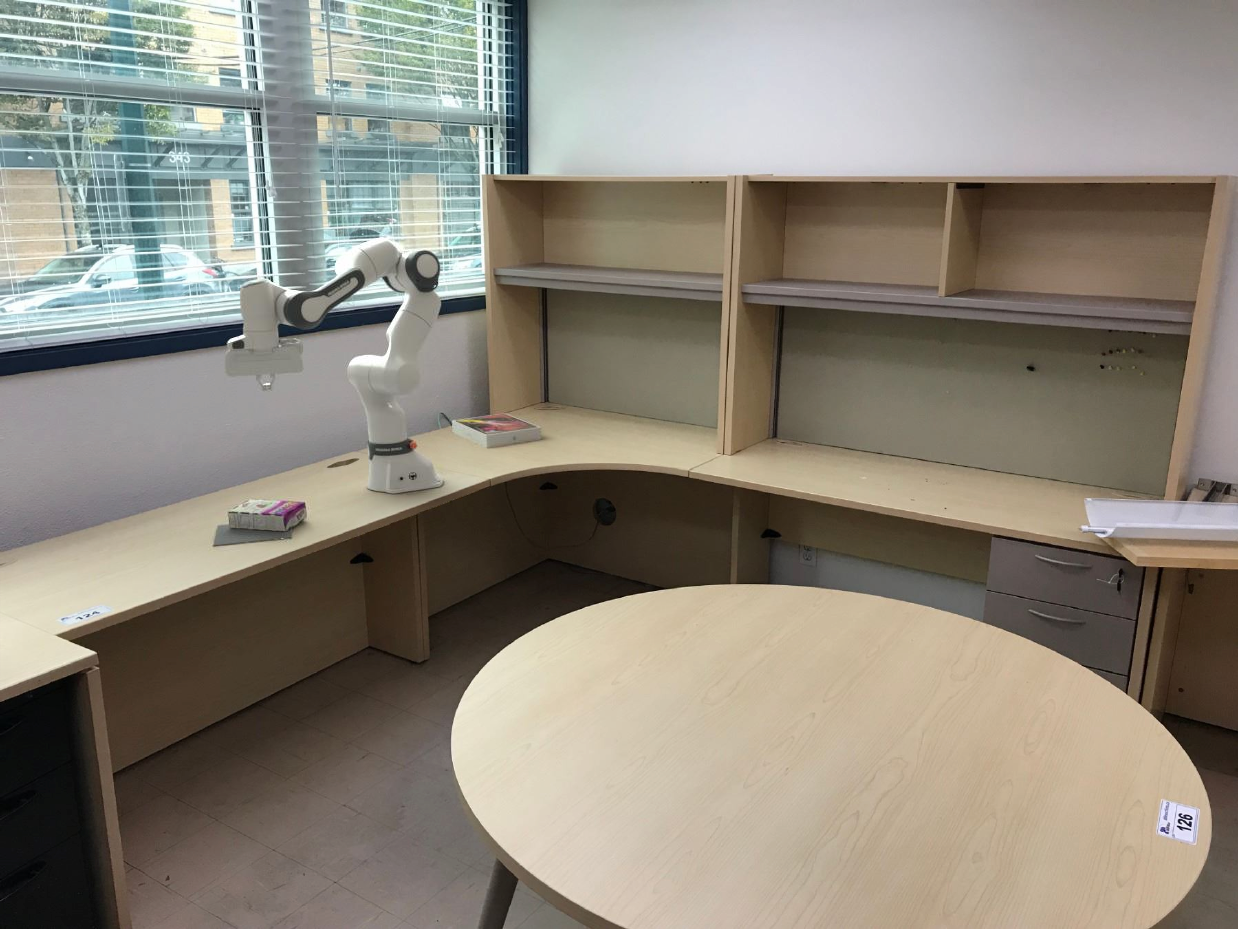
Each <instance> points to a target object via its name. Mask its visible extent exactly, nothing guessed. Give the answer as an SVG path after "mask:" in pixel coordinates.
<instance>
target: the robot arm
mask: <svg viewBox="0 0 1238 929" xmlns="http://www.w3.org/2000/svg"><path fill="white" fill-rule="evenodd" d="M334 270H335V275H336V277H334V278H333V279H331V280H330V281H328V282H327V283H324V284H323V285H322V286H320V287H319V288H317V289H316V290H311V291H310V290H309V291H304V290H302V291H301V290H293V289H289V288H286V287H283V286H280V285H278V284H276V283H274V282H272V281H271V280H270V279H268V278H258V279H257V278H256V279H251V280H248V281H246V282H244V283H242V285H241V287H240V290H239V291H240V292H239V305H240V314H241V315H240V316H242V317H241V318H242V320H243V327H242V331H243V333H242V335H241V334H240V335H239V336H236V337H233V338H230V339H229V340H228V341H227V342H226V345H227V346H226V347H227V351H226V353H225V358H224V372H225V375H226V376H227V377H228V378H232V377H233V378H234V377H252V376H255V379H256V382H258V384H259V385H260V388H261V390H260V391H261V392H267V391H268V392H269V391H270V392H271V391H274V387H273V384H274V382H275V380H276V379H277V378H276V377H277V375H281V374H294V373H295V374H296V373H297V374H298V373H302V372H303V370H304V362H303V357H302V354H303V352H304V344H303V343H302V341H301V340H299V339H297V338H282V339H280V338H279V327H278V326H279V325H280V324H283V325H287V326H291V327H295V328H298V329H301V330H303V331H304V330H312V329H314V328H316V327H317V326H319V325H320V324H321V323H322V322H323V320H324V319H325V317H326V316H327V315H328V314H329V312H330V311H332V310H333V309H334V308H336V307H337V306H338V305H340V304H341V303H343V302H344V301H346V300H348V299H349V298H350V297H352V296H354V295H355V294H356V293H358V292H360V291H361V290H362V289H364V288H367V287H368V286H370V285H372V284H374V283H375V282H377V281H378V280H381V279H382V280H383V281H384V284H386V286H387V287H388V289H390V290H392V291H393V292H395V293H402V294H404V299H403V302H402V304H401V305H400V307H399V309H398V311H397V313H396V314H395V316H394V318H393V319H392V321H391V323H390V325H389V326H388V328H387V330H386V331H385V339H386V340H387V343H388V348H387V351H386V353H385V354H384V355H376V354H365V355H359V356H355V357H353V359H352V360H350V362H349V363H348V366H347V370H346V371H347V372H346V374H347V375H346V376H347V379H348V381H349V383H350V384H351V385H352V386H353V388H355V390H356V391H357V393H358V395H359V398H360V400H361V403H362V405H363V408H364V412H365V415H366V421H367V422H366V423H367V433H368V440H367V455H368V456H367V457H368V460H369V467H368V468H369V471H368V479H367V484H366V488H367V489H369V490H371V491H376V492H383V493H384V492H385V493H387V494H400V493H406V492H412V491H419V490H426V489H433V488H440V487H442V485H443V484H444V479H443V477H442V475H441V474H439V473H437V472H436V469H435V467H434V464H433V462H432V460H430V459H429V458H428V457H426V456H425V455H424V454H422V453H420V452H418V451H417V450H416V449H417V448H418V444H417V442H416V441H414V439H412V438H410V437H408V436H407V434H408V433H407V432H408V431H407V419H406V417H407V416H406V412H405V411H404V410H403V408H402V407H401V406H400V404H399V402H397V400H396V397H406V396H411V395H413V394H415V392H417V391H418V389H419V387H420V385H421V381H422V378H421V376H422V375H421V371H420V369H419V367H418V362H419V361H418V360H419V355H420V353H421V350H422V348H423V346H424V344H425V342H426V340H427V339H428V336H429V334H430V333H431V331H432V329H433V327H434V325H435V323H436V321H437V319H438V316H439V313H440V310H441V307H442V301H441V297H440V295H438V293H437V292H436V291H435V290H436V289H437V288H438V287H439V278H440V275H441V264H440V260H439V258H438V257H437V255H436V254H434V253H433V252H432V251H430V250H427V249H415V250H413V251H407V252H405V253H401V252H400V251H399V250H398V248H397V247H396V245H395V244H394V242H393V241H391V240H389V239H388V238H384V237H378V238H375V239H371V240H369V241H366V242H363V243H361V244H358V245H357V246H355V247H353V248H351V249H349V250H348V251H346V252H344V253H343V254H342V255H341V256H340V257H339V258H338V259H337V260H336V262H335V265H334ZM266 375H269V378H270V379H271V380H270V382H269V383H264V382H263V381H262V376H266Z"/></svg>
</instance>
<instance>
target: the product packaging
mask: <svg viewBox="0 0 1238 929" xmlns="http://www.w3.org/2000/svg"><path fill="white" fill-rule="evenodd" d="M451 424H452V429H451V430H452V433H453V432H454V433H453V434H455V435H457V434H458V435H457V436H459V435H460V437H461V436H462V437H461V438H463V439H465V440H468V439H469V440H468V441H470V442H472V441H473V443H475V444H477V443H478V444H477V445H479V446H481V445H482V447H483V446H484V448H486V449H489V448H496V447H503V446H509V445H514V443H516V444H521V443H528V442H527V441H529V442H532V441H533V442H534V441H541V440H542V438H543V437H542V427H541V426H539V425H536V424H534V423H532V422H528V421H526V420H523V419H520V418H517V417H515V416H514V415H510V414H509V413H505V412H503V413H497V414H489V415H481V416H475V417H469V418H461V419H454V420H451ZM540 439H541V440H540ZM502 445H503V446H502Z"/></svg>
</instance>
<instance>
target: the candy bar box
mask: <svg viewBox="0 0 1238 929" xmlns="http://www.w3.org/2000/svg"><path fill="white" fill-rule="evenodd" d="M227 517H228V524H229V526H230V528H238V529H254V530H268V531H283V532H285V531H287V530H289V529H290V528H291V529H292V528H293V527H295V526H297V525H298V524H300V523H301V522H303V521H305V520H306V519H307V517H308V514H307V507H306V502H305V501H291V500H277V499H275V500H274V499H260V498H259V499H256V498H250V499H249V500H246V501H245V502H243V503H241V504H239V505H237V506H235V507H234V508H232V509H229V510H228V511H227Z"/></svg>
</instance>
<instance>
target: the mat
mask: <svg viewBox="0 0 1238 929" xmlns="http://www.w3.org/2000/svg"><path fill="white" fill-rule="evenodd" d="M281 538H289V539H292V528H290V529H289V530H287V531H285V532H283V531H268V530H254V529H238V528H230V526H229V523H228V524H227V523H226V524H218V525H217V528H216V532H215V537H214V539H213V540H214V541H213V545H212V547H220V546H219V545H221V546H229V545H230V544H231V545H240V544H239V543H241V544H246V543H245V542H250V543H258V541H260V542H266V541H265V540H270V541H276V540H275V539H279V540H282V539H281Z"/></svg>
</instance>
